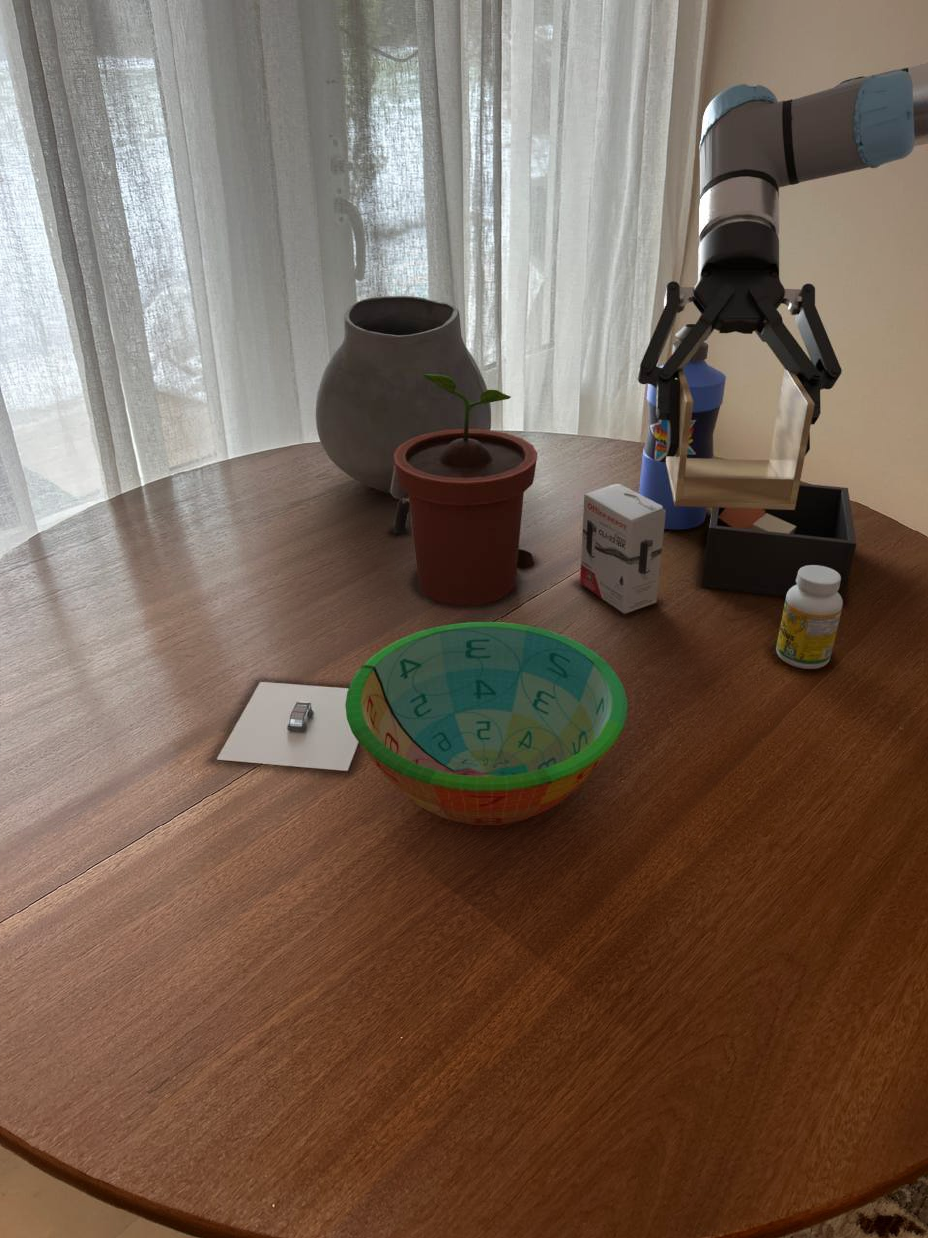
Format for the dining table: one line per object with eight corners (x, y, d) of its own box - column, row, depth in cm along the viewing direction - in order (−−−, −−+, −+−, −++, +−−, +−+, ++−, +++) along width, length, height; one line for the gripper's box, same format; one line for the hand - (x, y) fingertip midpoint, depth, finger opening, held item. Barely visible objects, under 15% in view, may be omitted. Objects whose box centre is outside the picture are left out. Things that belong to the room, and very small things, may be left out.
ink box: (577, 583, 109) (582, 490, 103) (610, 572, 111) (617, 481, 105) (624, 615, 103) (633, 518, 97) (658, 603, 105) (669, 507, 99)
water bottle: (693, 535, 119) (719, 339, 106) (625, 520, 123) (642, 329, 110) (715, 508, 126) (742, 321, 113) (650, 495, 130) (668, 312, 117)
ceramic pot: (308, 518, 125) (287, 330, 112) (336, 451, 146) (321, 286, 132) (489, 519, 124) (490, 330, 111) (491, 452, 145) (492, 285, 132)
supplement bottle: (836, 670, 93) (857, 587, 88) (783, 671, 93) (800, 588, 88) (819, 641, 98) (838, 561, 93) (768, 641, 98) (784, 561, 93)
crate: (665, 462, 95) (675, 365, 89) (774, 465, 94) (791, 367, 88) (674, 506, 86) (686, 400, 80) (794, 510, 85) (814, 403, 79)
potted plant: (381, 616, 103) (366, 396, 90) (394, 530, 122) (383, 337, 109) (540, 614, 103) (548, 395, 90) (529, 528, 122) (534, 335, 108)
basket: (835, 543, 117) (848, 487, 113) (842, 604, 104) (856, 543, 100) (709, 529, 121) (716, 474, 117) (700, 586, 108) (709, 527, 104)
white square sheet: (216, 759, 83) (213, 746, 82) (260, 681, 93) (258, 669, 92) (347, 771, 81) (346, 757, 80) (377, 690, 91) (376, 678, 90)
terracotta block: (716, 527, 117) (736, 503, 117) (742, 546, 115) (762, 521, 116) (717, 517, 113) (738, 492, 113) (744, 536, 112) (765, 510, 112)
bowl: (657, 756, 82) (668, 663, 77) (545, 933, 66) (550, 830, 61) (443, 684, 92) (440, 596, 87) (299, 822, 76) (286, 725, 70)
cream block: (755, 540, 115) (766, 512, 113) (785, 553, 114) (796, 526, 111) (742, 551, 113) (752, 524, 110) (772, 566, 111) (783, 538, 108)
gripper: (850, 266, 92) (855, 473, 87) (614, 263, 95) (605, 464, 90) (876, 217, 85) (883, 439, 80) (619, 215, 87) (610, 431, 82)
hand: (736, 452), depth 85 cm, fingers closed on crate, 11 cm apart
